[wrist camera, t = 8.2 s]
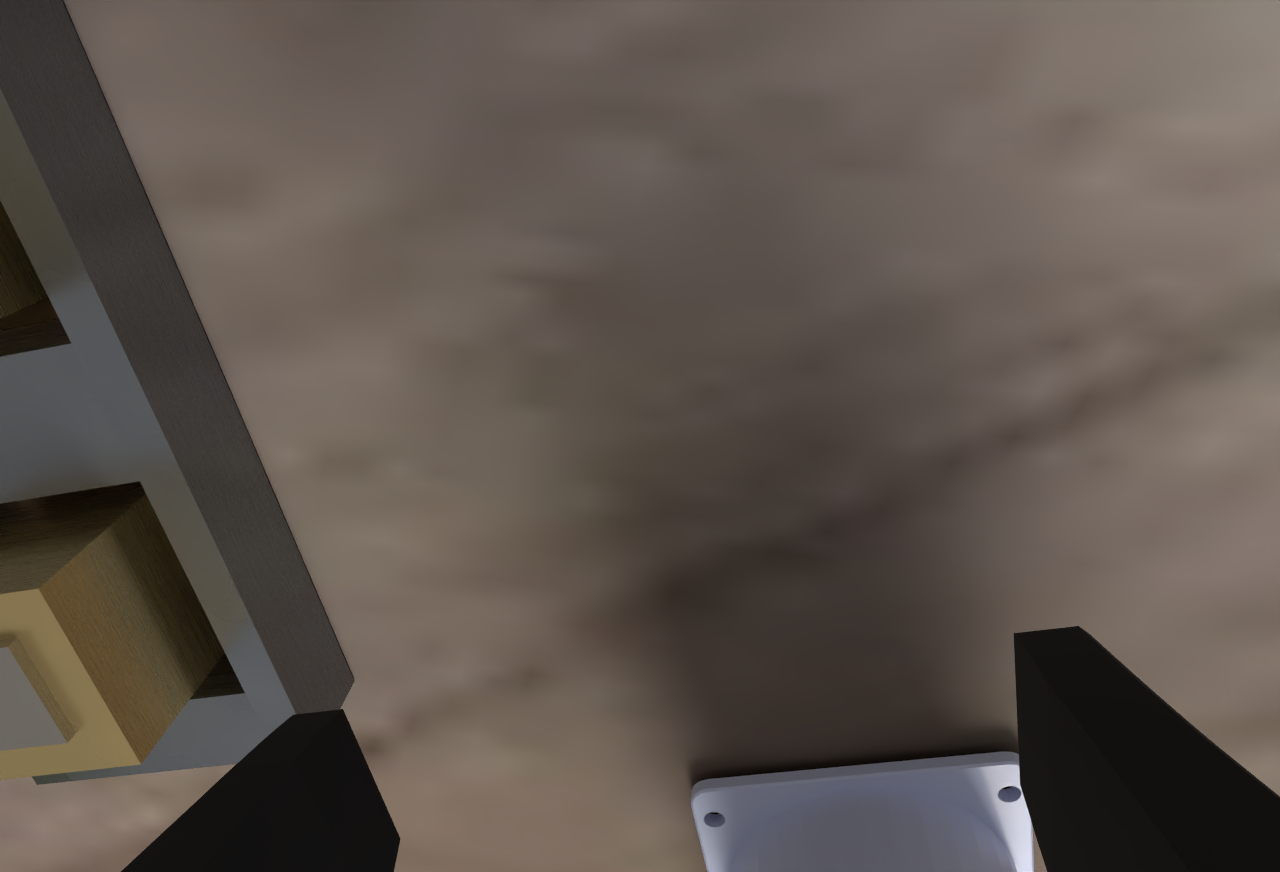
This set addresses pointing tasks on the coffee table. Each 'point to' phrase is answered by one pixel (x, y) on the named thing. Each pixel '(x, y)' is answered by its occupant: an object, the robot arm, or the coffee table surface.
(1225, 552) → the coffee table surface
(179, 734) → the grey slotted tray
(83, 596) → the tan square frame
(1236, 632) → the coffee table surface
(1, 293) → the gold square block
